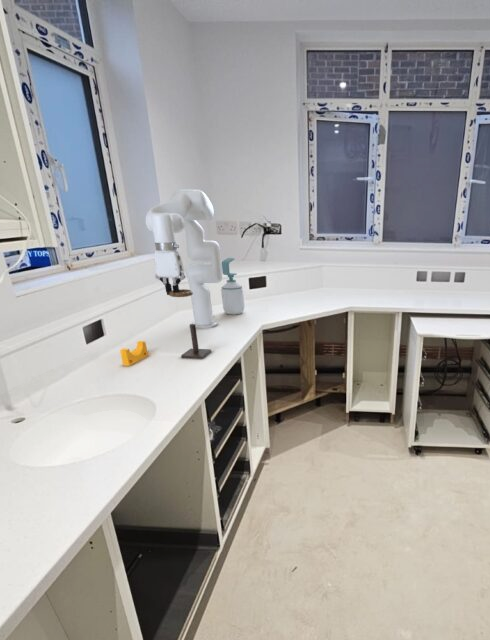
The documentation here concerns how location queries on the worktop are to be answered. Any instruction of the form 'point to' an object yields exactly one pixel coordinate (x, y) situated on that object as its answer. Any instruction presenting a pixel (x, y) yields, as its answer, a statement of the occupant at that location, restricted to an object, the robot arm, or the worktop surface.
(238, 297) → the soap bottle
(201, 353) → the post
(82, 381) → the worktop surface
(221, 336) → the worktop surface
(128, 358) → the pipe clamp
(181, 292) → the ring
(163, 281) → the robot arm
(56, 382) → the worktop surface
